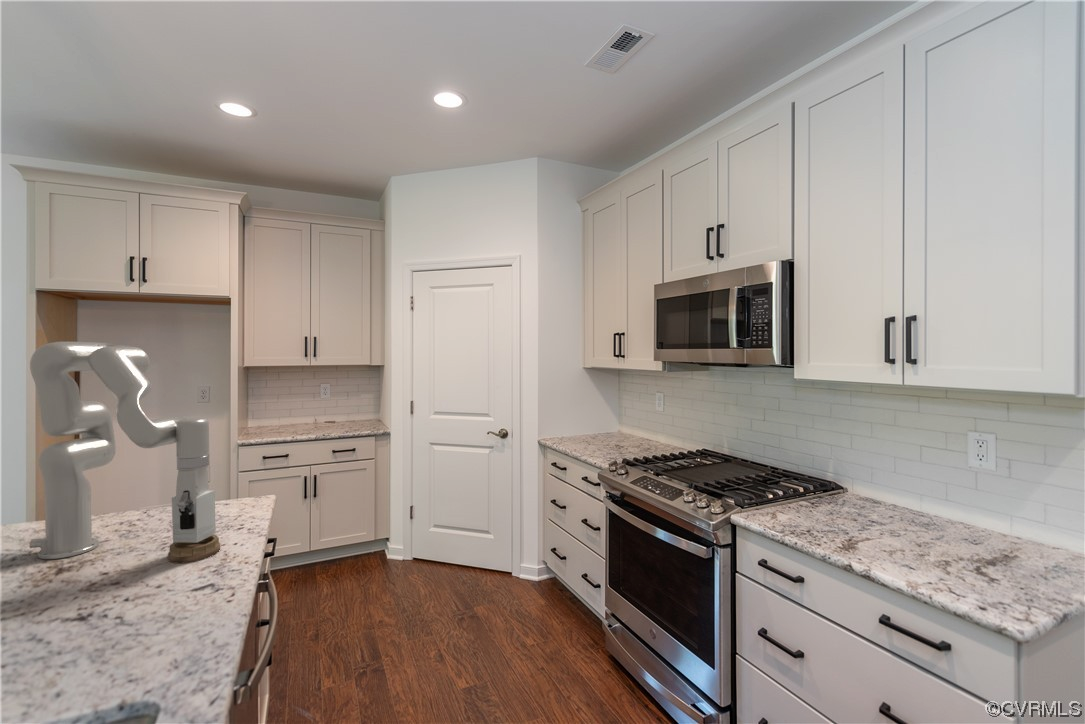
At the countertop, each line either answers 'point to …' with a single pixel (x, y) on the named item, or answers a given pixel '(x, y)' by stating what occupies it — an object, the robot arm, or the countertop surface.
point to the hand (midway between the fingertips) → (194, 522)
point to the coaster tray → (193, 558)
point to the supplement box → (196, 519)
